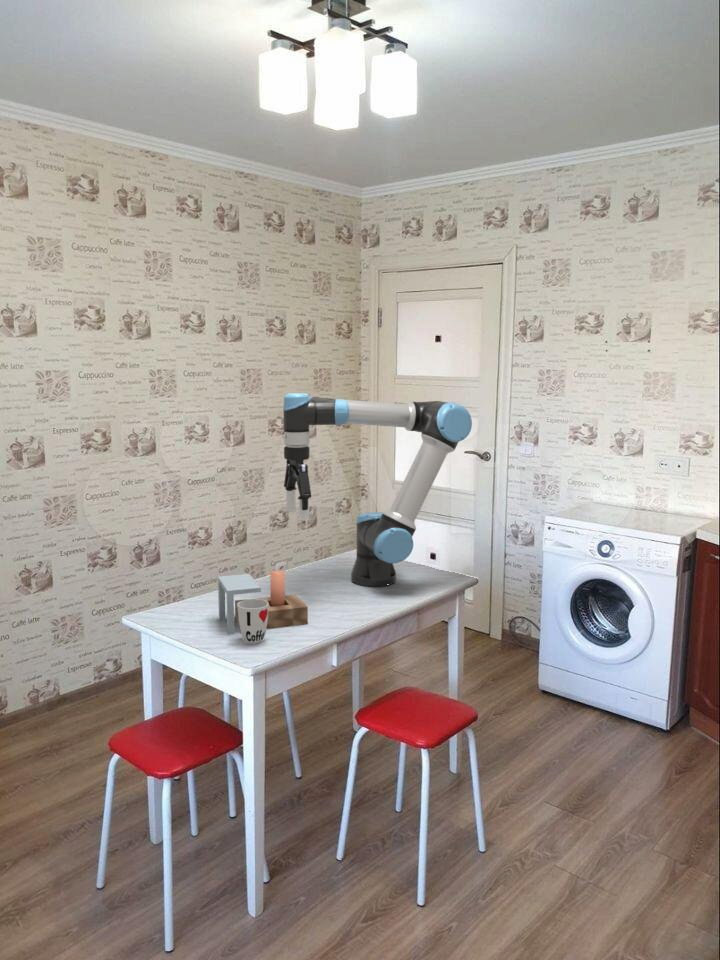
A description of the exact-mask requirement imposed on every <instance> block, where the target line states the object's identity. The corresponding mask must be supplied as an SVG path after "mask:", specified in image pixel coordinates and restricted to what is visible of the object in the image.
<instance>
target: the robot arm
mask: <svg viewBox="0 0 720 960" xmlns="http://www.w3.org/2000/svg"><path fill="white" fill-rule="evenodd" d="M282 410H283V434H282V435H281V436H282V439H283V445H284V448H283V458H284V459H285V460H286V468H285V475H284V481H283V487H284V488H285V494H286V495H285V497H286V499H285V500H286V502H285V503H286V509H285V510H286V512H287V513H291V512H292V513H293V512H296V510H297V509H296V507H297V506H296V505H297V504H296V491H297V489H298V498H297V499H298V517H299V519H298V520H299V522H305V521H309V520H310V516H309V515H310V513H309V512H310V510H309V509H310V506H309V505H310V504H309V503H310V499H311V498H312V492H311V485H310V477H309V466H308V464H305V463H304V461H306V460H309V459H310V447H309V445H310V442H311V441H310V438H311V437H310V426H334V425H335V426H339V425H346V424H353V425H364V426H366V425H367V426H377V427H378V426H379V427H380V426H381V427H393V428H404V429H405V430H406V431H407V432H408V431H409V432H417V433H421V434H420V436H421V440H422V443H421V445H420V448H419V449H418V451H417V454H416V455H415V457H414V459H413V462H412V463H411V465H410V468H409V470H408V472H407V474H406V475H405V478H404V479H403V482H402V484H401V486H400V488H399V491H398V492H397V495H396V496H395V498H394V500H393V502H392V504H391V506H390V509H388V510H386V511H383V512H381V511H380V512H378V511H377V512H375V511H374V512H363V513H360V514H358V515H357V517H356V523H355V524H356V558H355V561H354V564H353V567H352V570H351V574H350V581H351V580H352V581H353V582H354V583H353V582H352V581H351V582H352V583H353V584H355V583H357V584H356V585H358V584H360V585H359V586H362V585H365V586H364V587H372V586H378V587H383V586H382V585H387V584H391V583H393V582H395V581H396V582H397V573H396V569H395V567H394V564H398V563H401V562H403V561H406V560H407V558H409V557H410V555H411V554H412V552H413V549H414V539H413V536H414V534H415V533H416V530H417V527H416V523H415V521H416V519H417V517H418V516H419V512H420V511H421V508H422V507H423V505H424V503H425V500H426V498H427V496H428V494H429V492H430V490H431V488H432V486H433V484H434V482H435V480H436V477H437V476H438V474H439V472H440V469H441V468H442V466H443V464H444V462H445V460H446V457H447V455H448V454H449V453H452V452H455V450H456V448H457V446H458V443H459V442H462V441H463V440H465V439H466V438H467V437H468V436H469V434H470V433H471V430H472V428H473V427H472V425H473V420H472V419H473V418H472V416H471V414H470V412H469V410H468V409H467V408H466V407H465V406H463V405H461V404H458V403H455V402H449V401H448V402H447V401H441V400H431V401H430V400H428V401H409V402H407V403H393V402H383V401H382V402H381V401H368V400H366V401H365V400H354V399H344V398H342V399H340V398H328V397H321V396H320V397H319V396H311V397H310V395H309V394H308V393H300V392H296V393H295V392H294V393H291V392H290V393H286V394H284V396H283V409H282ZM296 485H297V487H296ZM396 582H395V583H396ZM393 584H394V583H393ZM391 585H392V584H391ZM387 586H388V585H387Z"/></svg>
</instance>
